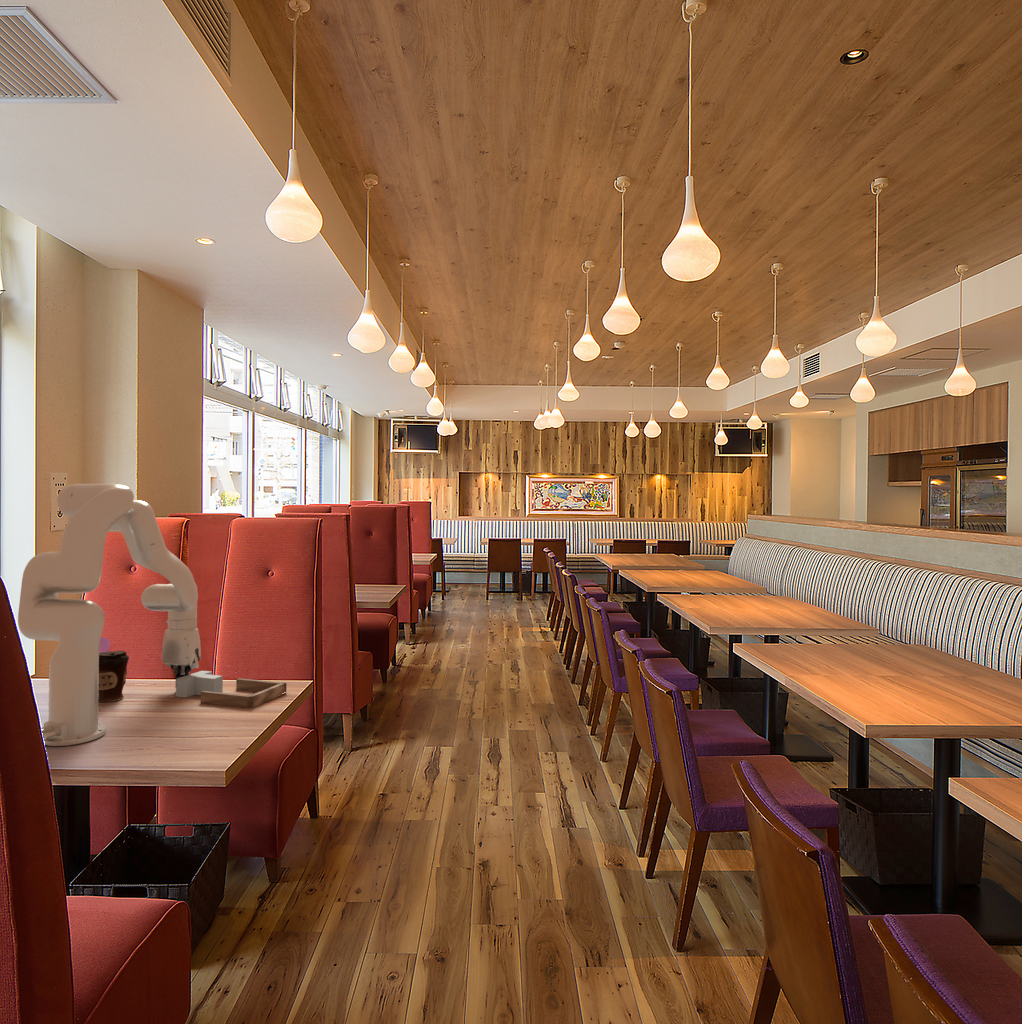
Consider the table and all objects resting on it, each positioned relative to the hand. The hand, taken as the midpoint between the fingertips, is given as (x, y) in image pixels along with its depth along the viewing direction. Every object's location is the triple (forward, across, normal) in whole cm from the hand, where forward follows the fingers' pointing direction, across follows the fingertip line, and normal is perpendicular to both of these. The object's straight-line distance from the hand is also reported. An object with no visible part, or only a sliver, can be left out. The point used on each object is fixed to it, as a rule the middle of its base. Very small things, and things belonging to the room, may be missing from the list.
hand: (181, 687), depth 189 cm
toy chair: (+1, -24, -5) cm, 25 cm away
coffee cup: (+1, -12, -13) cm, 18 cm away
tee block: (+1, +8, 0) cm, 8 cm away
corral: (+1, +21, 0) cm, 21 cm away
